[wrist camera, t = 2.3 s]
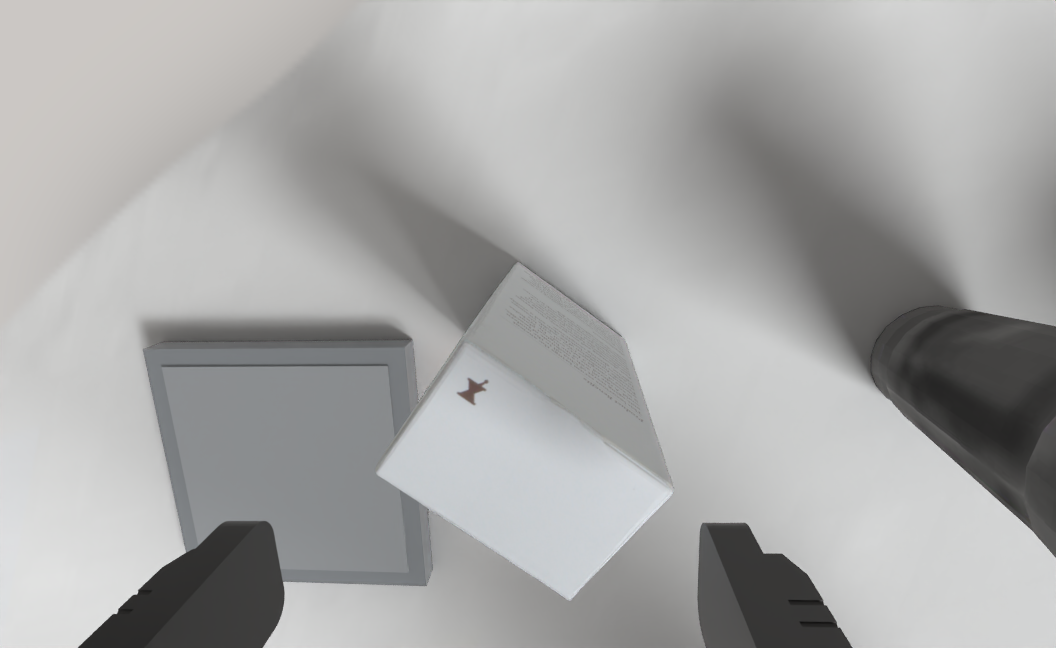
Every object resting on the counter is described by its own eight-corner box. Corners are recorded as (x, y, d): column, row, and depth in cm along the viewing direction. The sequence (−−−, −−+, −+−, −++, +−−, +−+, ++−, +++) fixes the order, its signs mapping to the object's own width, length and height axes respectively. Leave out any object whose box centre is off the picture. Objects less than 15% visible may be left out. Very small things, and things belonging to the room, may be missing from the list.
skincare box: (462, 335, 24) (362, 471, 13) (517, 258, 23) (462, 330, 12) (571, 413, 25) (570, 611, 13) (630, 341, 24) (684, 488, 12)
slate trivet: (412, 339, 25) (403, 348, 23) (432, 569, 28) (425, 587, 26) (162, 341, 26) (141, 350, 24) (207, 562, 29) (190, 580, 27)
